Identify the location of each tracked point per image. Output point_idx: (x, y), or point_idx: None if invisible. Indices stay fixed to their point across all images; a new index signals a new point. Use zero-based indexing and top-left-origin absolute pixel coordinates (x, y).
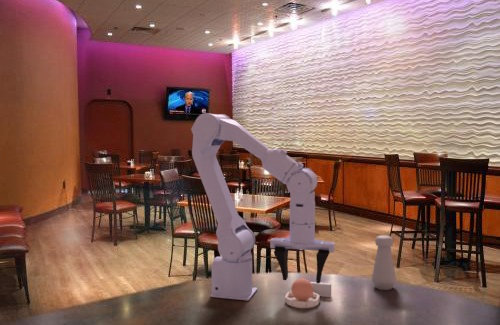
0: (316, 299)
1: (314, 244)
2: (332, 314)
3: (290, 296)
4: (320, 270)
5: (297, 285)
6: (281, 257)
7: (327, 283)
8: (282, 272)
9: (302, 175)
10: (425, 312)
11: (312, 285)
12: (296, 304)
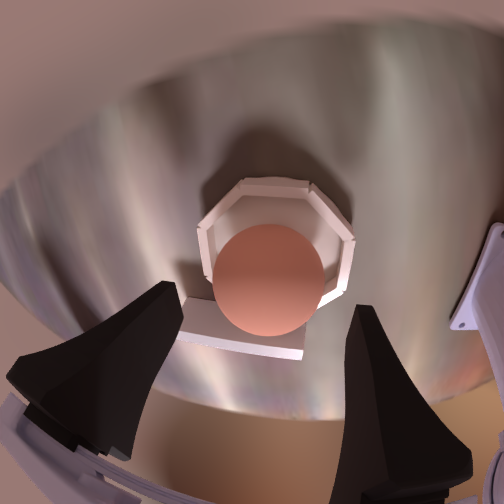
0: (203, 230)
1: (37, 486)
2: (137, 148)
3: (331, 279)
4: (107, 322)
5: (282, 268)
6: (408, 441)
7: (184, 338)
8: (384, 338)
9: None
10: (12, 232)
11: (240, 334)
12: (290, 182)
